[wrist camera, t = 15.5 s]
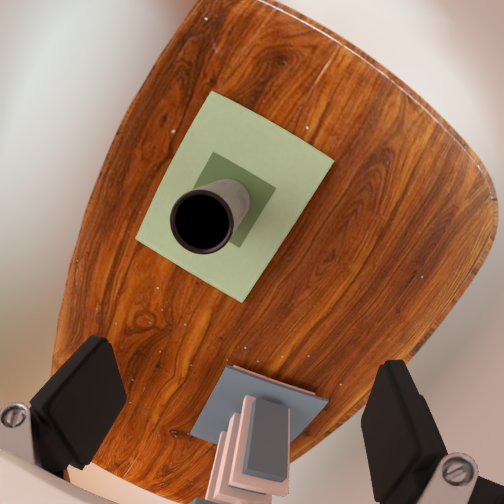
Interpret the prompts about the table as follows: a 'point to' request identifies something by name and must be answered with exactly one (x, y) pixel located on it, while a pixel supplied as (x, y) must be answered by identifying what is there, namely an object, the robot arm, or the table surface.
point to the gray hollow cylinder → (209, 215)
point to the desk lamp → (252, 435)
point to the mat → (251, 177)
